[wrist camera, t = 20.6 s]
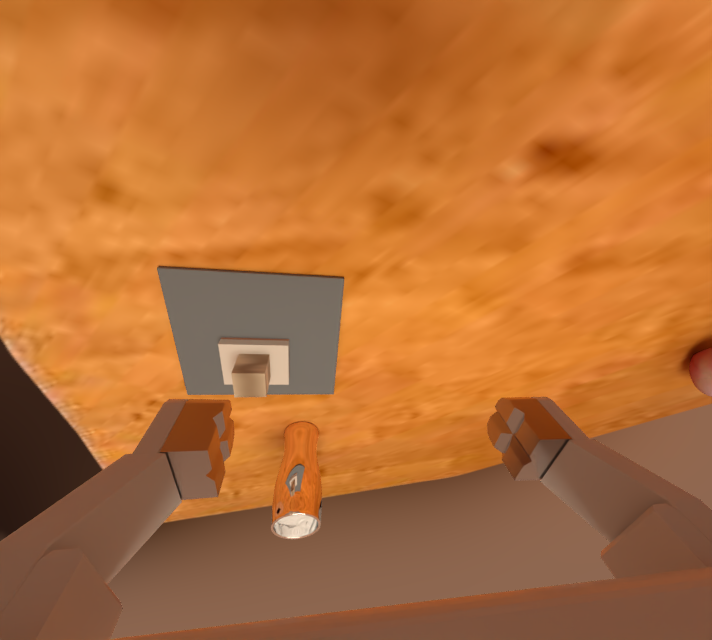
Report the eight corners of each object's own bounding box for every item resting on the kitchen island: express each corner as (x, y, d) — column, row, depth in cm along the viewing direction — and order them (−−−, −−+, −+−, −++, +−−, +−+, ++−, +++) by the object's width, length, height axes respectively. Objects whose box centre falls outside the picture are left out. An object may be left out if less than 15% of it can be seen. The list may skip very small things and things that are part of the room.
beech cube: (269, 354, 40) (264, 373, 36) (270, 376, 41) (266, 396, 38) (238, 353, 39) (231, 373, 35) (241, 376, 41) (234, 397, 37)
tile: (288, 345, 39) (218, 344, 38) (288, 384, 43) (224, 384, 41) (289, 339, 41) (221, 337, 39) (289, 377, 44) (227, 377, 43)
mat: (343, 277, 37) (344, 278, 37) (333, 391, 47) (333, 394, 47) (159, 266, 34) (156, 268, 34) (189, 391, 44) (187, 394, 43)
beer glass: (299, 413, 49) (292, 507, 36) (329, 430, 52) (333, 522, 39) (273, 435, 51) (258, 531, 38) (303, 450, 54) (299, 544, 41)
